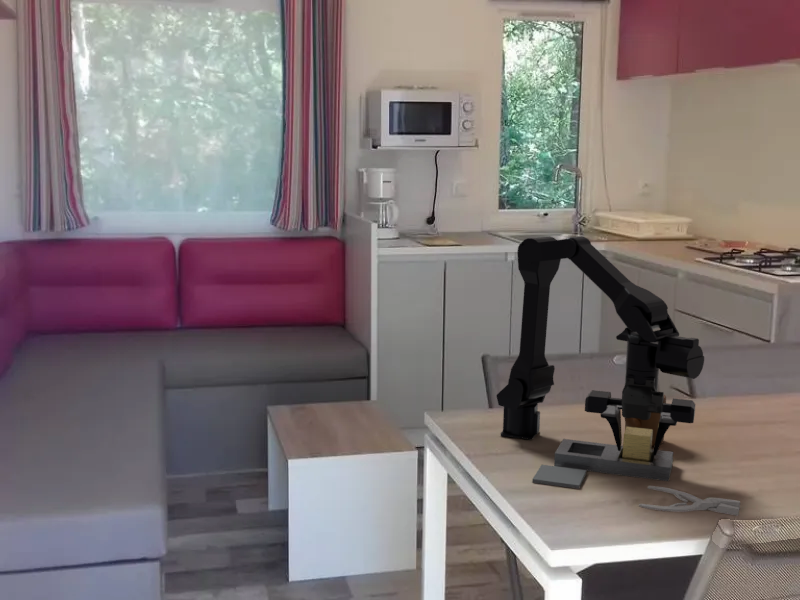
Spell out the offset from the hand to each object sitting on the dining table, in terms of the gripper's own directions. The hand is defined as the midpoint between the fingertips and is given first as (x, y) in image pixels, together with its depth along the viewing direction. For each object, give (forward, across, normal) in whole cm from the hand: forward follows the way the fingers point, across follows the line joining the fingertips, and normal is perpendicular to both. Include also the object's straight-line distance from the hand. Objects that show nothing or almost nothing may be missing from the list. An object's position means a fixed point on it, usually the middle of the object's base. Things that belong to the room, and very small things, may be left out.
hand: (637, 452), depth 171 cm
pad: (+3, -12, -10) cm, 16 cm away
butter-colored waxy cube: (+3, 0, 0) cm, 3 cm away
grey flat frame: (+3, -4, 0) cm, 5 cm away
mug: (+3, -1, +15) cm, 15 cm away
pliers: (+4, +10, -14) cm, 18 cm away
